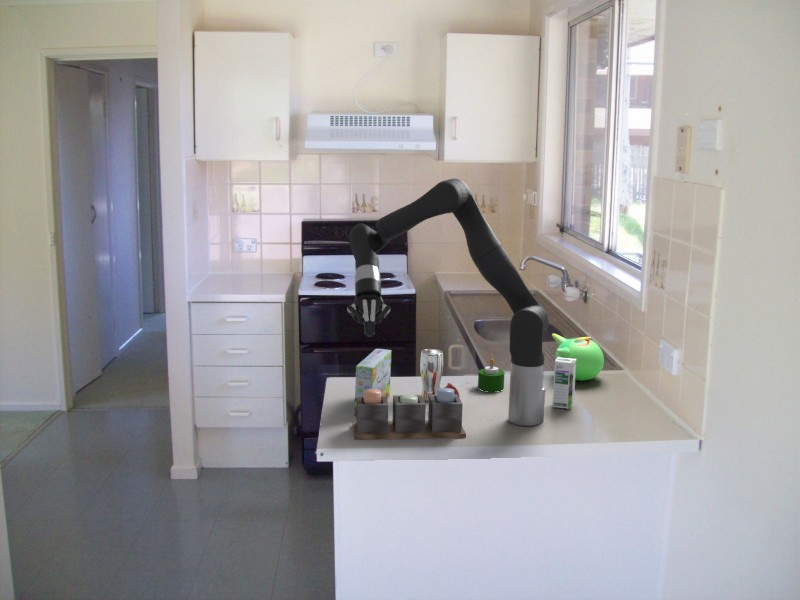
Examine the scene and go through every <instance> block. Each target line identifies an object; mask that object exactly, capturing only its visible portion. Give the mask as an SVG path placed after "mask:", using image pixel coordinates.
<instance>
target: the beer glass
mask: <svg viewBox="0 0 800 600" xmlns="http://www.w3.org/2000/svg"><path fill="white" fill-rule="evenodd" d="M420 352H421V353H420V361H419V363H420V364H419V366H420V370H419V372H420V378H421V385H422V386H421V387H422V391H421V393H420V395H422V397H423V399H424V402H425V403H426V402H427V403H429V395H437V389H439V388H441V387H440V386H441V381H442V377H443V371H444V352H443V351H442V350H440V349H437V348H436V349H435V348H427V349H423V350H421V351H420Z"/></svg>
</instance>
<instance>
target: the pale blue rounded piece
mask: <svg viewBox="0 0 800 600" xmlns="http://www.w3.org/2000/svg"><path fill="white" fill-rule="evenodd" d="M452 402H454V390H453V389H451V388H444V387H440V388H439V389H437V403H452Z"/></svg>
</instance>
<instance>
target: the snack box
mask: <svg viewBox="0 0 800 600" xmlns="http://www.w3.org/2000/svg"><path fill="white" fill-rule="evenodd" d="M392 352H393V351H392V349H386V348H385V349H384V348H375V349H373V350H372V352H370V353H369V354H368V355H367V356H366V357H365V358H364V359H362V360H361V361H360V362H359V363H358V364H357V365H356V366H355V386H354V387H355V390H354V416H357V396H364V390H367V389H378V390H380V391H381V396H386V398H387V399H389V398H390V396H391V368H392V367H391V366H392Z"/></svg>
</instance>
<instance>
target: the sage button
mask: <svg viewBox="0 0 800 600" xmlns="http://www.w3.org/2000/svg"><path fill="white" fill-rule="evenodd" d="M402 395H403V394H402ZM415 395H416V394H404V395H403V396H401V397H400V403H418V397H417V396H415Z"/></svg>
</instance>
